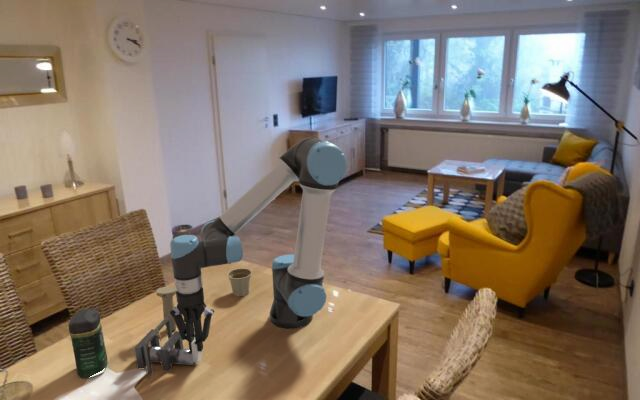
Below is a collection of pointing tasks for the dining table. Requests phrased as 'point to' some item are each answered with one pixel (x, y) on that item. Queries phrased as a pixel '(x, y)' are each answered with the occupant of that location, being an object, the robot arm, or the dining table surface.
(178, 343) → the dark grey arch
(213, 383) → the dining table surface
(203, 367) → the dining table surface
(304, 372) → the dining table surface
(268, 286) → the dining table surface
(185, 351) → the tube
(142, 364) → the collar
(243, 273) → the flower pot
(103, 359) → the coffee jar
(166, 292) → the handle
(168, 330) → the frame
